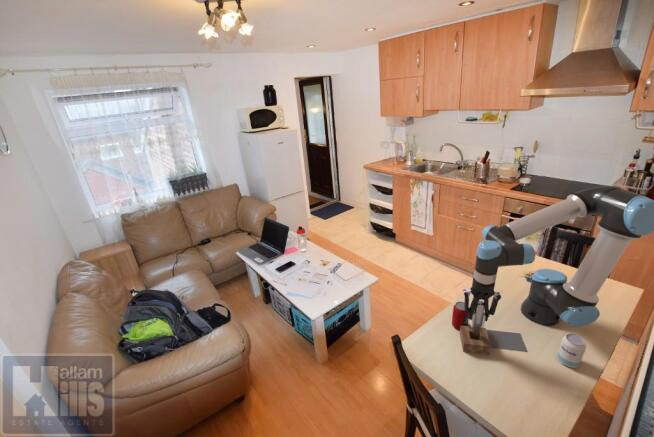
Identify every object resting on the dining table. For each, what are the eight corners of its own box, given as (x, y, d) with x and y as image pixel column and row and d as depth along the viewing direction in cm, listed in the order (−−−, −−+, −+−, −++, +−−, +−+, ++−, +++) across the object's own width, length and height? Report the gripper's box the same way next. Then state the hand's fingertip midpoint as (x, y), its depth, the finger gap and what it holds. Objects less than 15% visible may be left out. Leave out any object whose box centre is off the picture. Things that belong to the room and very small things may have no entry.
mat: (520, 333, 130) (520, 333, 130) (527, 352, 121) (527, 352, 121) (484, 329, 133) (484, 329, 133) (489, 347, 125) (489, 347, 125)
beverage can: (469, 332, 133) (472, 311, 128) (453, 330, 135) (455, 310, 130) (465, 321, 139) (468, 300, 134) (450, 320, 141) (452, 300, 136)
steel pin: (480, 334, 122) (485, 306, 116) (472, 333, 123) (476, 305, 117) (479, 328, 125) (483, 301, 119) (470, 327, 126) (475, 300, 120)
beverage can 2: (552, 359, 117) (560, 337, 112) (562, 351, 120) (569, 329, 115) (573, 372, 112) (581, 349, 107) (582, 363, 115) (591, 341, 110)
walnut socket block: (484, 336, 130) (485, 328, 128) (489, 355, 122) (491, 346, 119) (459, 333, 133) (460, 325, 131) (462, 352, 124) (464, 343, 122)
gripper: (505, 274, 114) (496, 320, 124) (459, 271, 118) (454, 316, 128) (511, 287, 107) (500, 334, 117) (462, 283, 112) (456, 329, 122)
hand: (476, 325), depth 123 cm, fingers closed on steel pin, 3 cm apart
